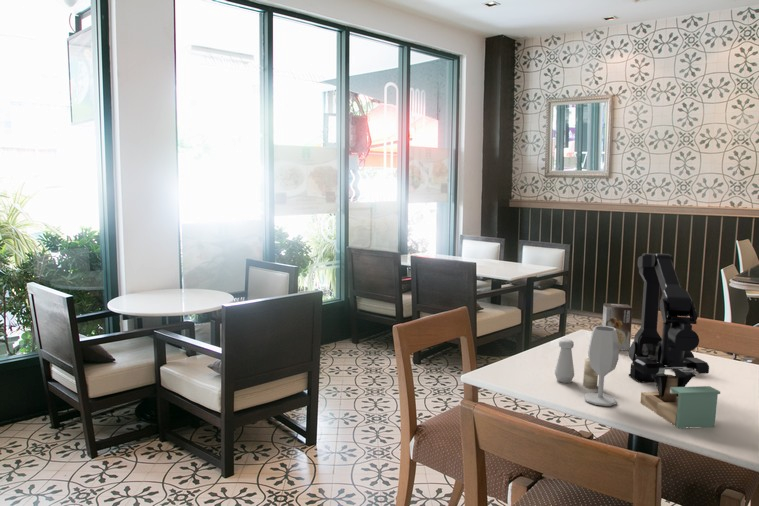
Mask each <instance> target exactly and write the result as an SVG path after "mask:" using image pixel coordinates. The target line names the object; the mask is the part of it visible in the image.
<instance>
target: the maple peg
mask: <svg viewBox="0 0 759 506" xmlns="http://www.w3.org/2000/svg"><path fill="white" fill-rule="evenodd" d="M583 366H584V367H583V379H582V380H583V381H582V382H583V383H582V386H583V387H585V388H588V389H596V388H597V389H598V382H599V375H598V374H597V373H596V372H595V371H594V370H593V369H592V368H591V366H590V362H589V357H588V358H587V357H586V358H584V365H583Z"/></svg>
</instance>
